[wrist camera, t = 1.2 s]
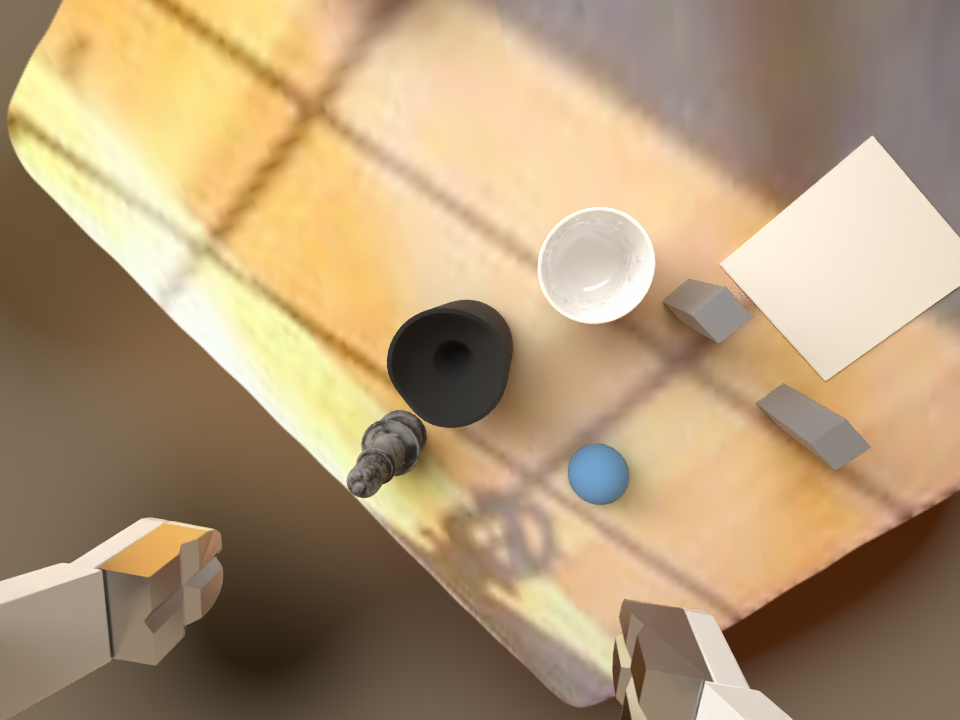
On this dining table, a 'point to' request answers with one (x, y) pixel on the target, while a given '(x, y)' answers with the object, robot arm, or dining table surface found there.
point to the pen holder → (452, 362)
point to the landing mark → (849, 260)
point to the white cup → (596, 265)
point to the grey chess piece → (387, 452)
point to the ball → (598, 474)
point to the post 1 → (707, 309)
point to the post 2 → (814, 426)
